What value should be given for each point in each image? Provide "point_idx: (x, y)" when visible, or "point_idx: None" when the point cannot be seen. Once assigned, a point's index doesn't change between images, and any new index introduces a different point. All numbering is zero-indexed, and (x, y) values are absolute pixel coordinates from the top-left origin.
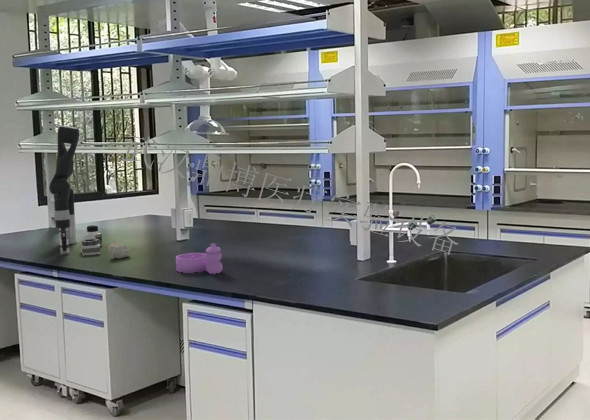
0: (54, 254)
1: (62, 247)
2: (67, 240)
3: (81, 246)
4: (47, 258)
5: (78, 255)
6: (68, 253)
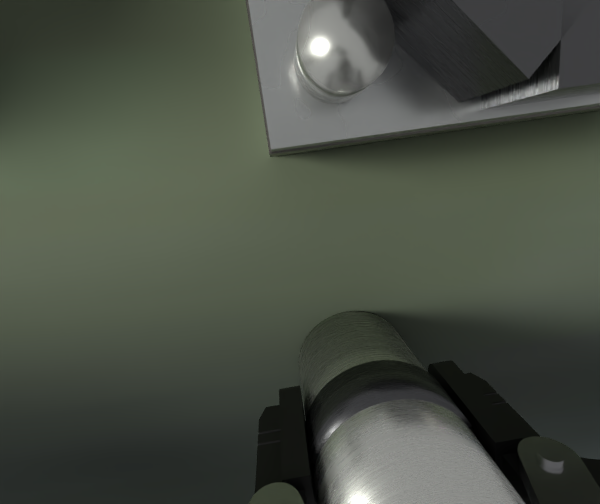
0: None
1: None
2: (504, 487)
3: (504, 118)
4: None
5: (533, 174)
6: (384, 321)
